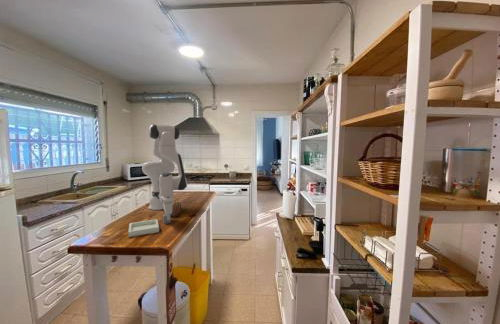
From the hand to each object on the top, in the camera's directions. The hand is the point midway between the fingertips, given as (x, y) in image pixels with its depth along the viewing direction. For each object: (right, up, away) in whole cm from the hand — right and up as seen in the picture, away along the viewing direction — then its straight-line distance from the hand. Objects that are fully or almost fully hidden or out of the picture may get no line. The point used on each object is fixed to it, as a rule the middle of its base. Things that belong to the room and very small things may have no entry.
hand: (167, 217), depth 147 cm
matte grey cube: (-1, -3, 0) cm, 3 cm away
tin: (-1, -2, +18) cm, 18 cm away
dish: (-10, -4, -13) cm, 17 cm away
